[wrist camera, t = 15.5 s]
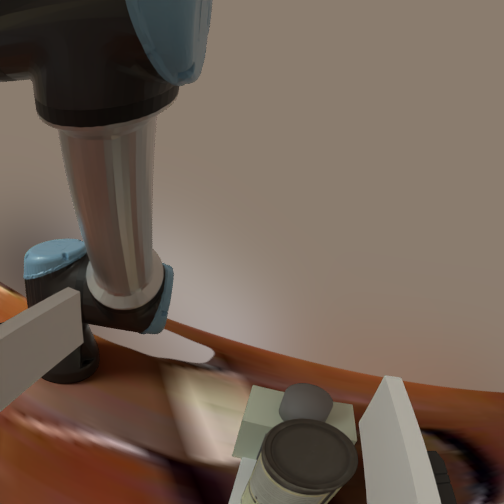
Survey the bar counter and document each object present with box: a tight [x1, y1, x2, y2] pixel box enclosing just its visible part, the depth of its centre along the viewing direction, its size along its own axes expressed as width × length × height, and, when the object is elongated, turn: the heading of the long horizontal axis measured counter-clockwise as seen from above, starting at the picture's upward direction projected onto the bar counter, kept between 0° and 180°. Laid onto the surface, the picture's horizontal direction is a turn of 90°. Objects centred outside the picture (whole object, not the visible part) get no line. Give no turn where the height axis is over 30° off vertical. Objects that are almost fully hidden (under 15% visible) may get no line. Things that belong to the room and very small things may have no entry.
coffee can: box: [240, 418, 358, 504], centre depth 27 cm, size 10×10×14 cm
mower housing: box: [229, 383, 357, 504], centre depth 33 cm, size 21×16×12 cm
